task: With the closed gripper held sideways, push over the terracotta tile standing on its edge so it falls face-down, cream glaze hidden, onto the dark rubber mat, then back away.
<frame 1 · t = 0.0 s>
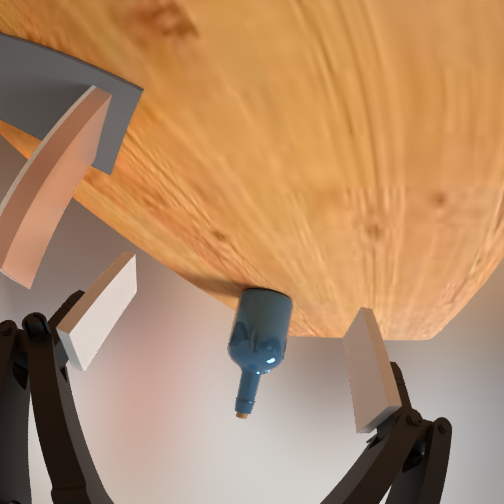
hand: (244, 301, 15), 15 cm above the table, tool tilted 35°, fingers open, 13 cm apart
tile: (92, 126, 24), resting on mat
mat: (45, 100, 20), on the table
wine bottle: (267, 296, 66), on the table
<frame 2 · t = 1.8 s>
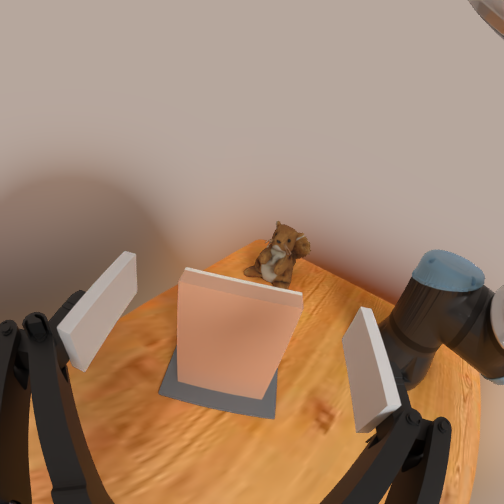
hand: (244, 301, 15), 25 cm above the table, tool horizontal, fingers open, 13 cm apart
tile: (220, 384, 35), resting on mat
mat: (229, 346, 42), on the table
stuffed squirrel: (275, 275, 63), on the table
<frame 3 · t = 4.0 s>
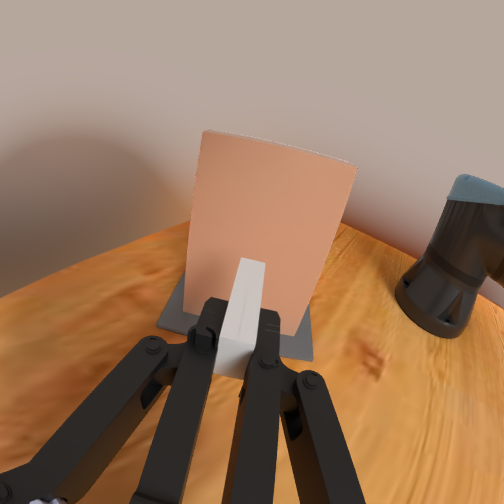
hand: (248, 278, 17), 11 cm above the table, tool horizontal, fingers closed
tile: (240, 317, 29), resting on mat
mat: (248, 278, 36), on the table
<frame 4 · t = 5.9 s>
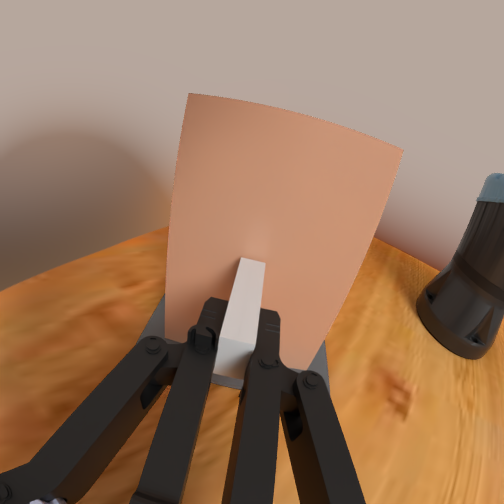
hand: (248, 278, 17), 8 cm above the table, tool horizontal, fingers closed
tile: (237, 346, 22), resting on mat, touching gripper
mat: (248, 293, 29), on the table
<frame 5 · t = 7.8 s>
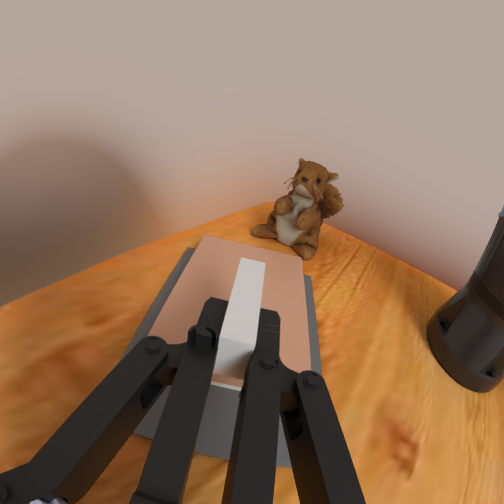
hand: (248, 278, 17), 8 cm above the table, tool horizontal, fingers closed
tile: (224, 378, 18), point 2 cm above the table, tilted 90°, touching mat
mat: (234, 332, 24), on the table
stuffed squirrel: (295, 239, 45), on the table
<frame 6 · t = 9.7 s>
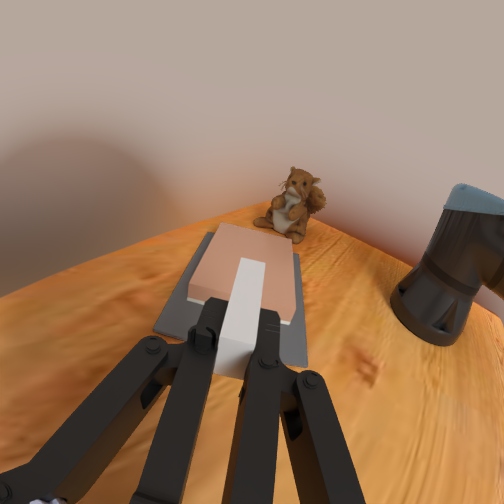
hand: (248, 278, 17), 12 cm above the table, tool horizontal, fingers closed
tile: (240, 305, 30), point 2 cm above the table, tilted 90°, touching mat
mat: (244, 284, 36), on the table
stuffed squirrel: (287, 229, 57), on the table
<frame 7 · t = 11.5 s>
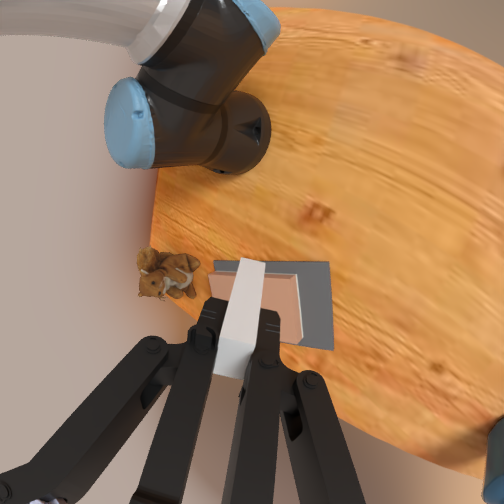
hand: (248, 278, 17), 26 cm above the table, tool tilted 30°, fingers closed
tile: (297, 310, 44), point 2 cm above the table, tilted 90°, touching mat
mat: (270, 303, 49), on the table
stuffed squirrel: (182, 266, 62), on the table
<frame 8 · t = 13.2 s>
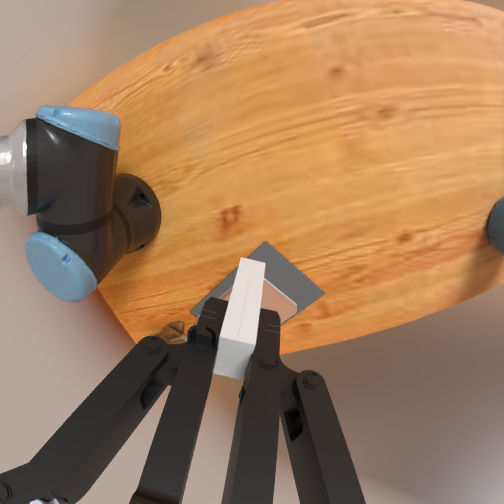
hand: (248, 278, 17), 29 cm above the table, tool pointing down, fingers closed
tile: (275, 290, 51), point 2 cm above the table, tilted 90°, touching mat
mat: (253, 303, 55), on the table
stuffed squirrel: (172, 336, 63), on the table
wine bottle: (503, 220, 40), on the table
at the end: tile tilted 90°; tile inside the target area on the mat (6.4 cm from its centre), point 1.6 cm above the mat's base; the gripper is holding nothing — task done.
